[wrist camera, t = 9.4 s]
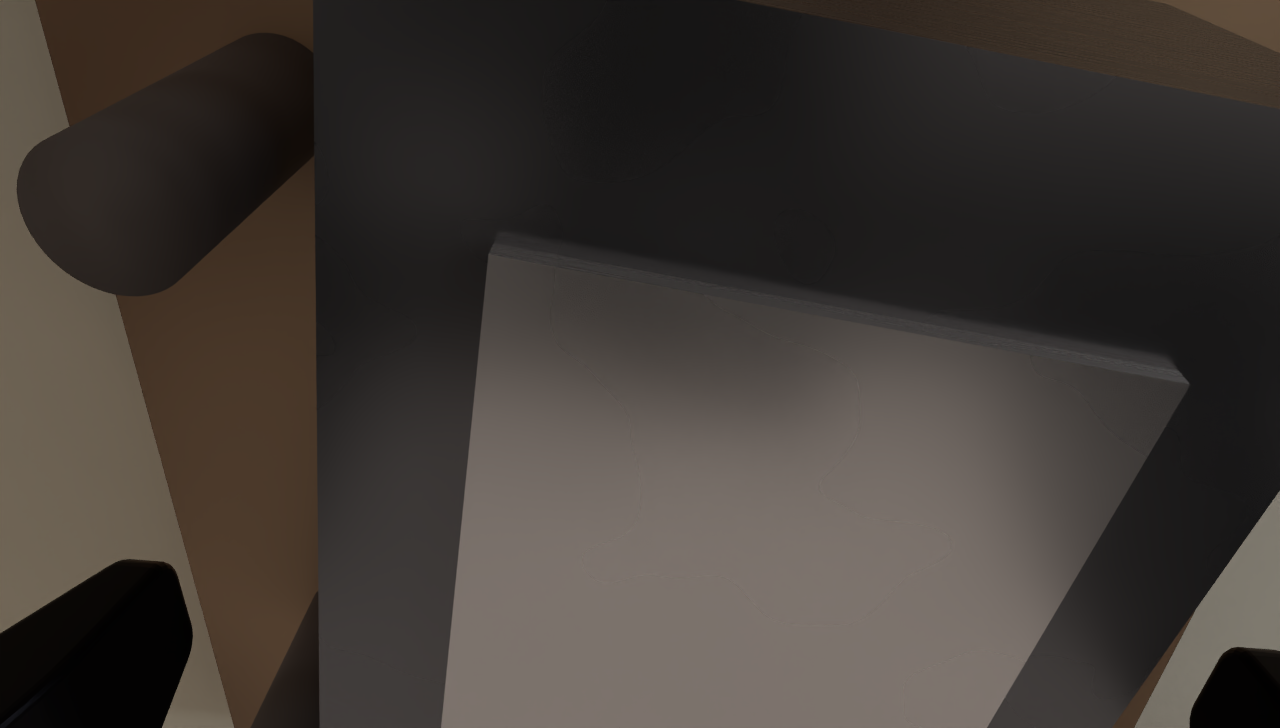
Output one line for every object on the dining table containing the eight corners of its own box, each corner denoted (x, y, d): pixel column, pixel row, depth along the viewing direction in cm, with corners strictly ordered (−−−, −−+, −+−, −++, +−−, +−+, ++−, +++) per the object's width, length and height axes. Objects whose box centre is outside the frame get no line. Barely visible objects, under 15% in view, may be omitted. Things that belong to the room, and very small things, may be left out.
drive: (1167, 4, 8) (1541, 167, 4) (836, 728, 13) (887, 1067, 10) (482, -137, 8) (301, -83, 4) (421, 659, 13) (317, 982, 9)
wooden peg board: (1549, -265, 8) (2228, -317, 4) (1058, 772, 15) (1164, 1058, 12) (13, -362, 8) (-503, -479, 5) (269, 707, 15) (145, 967, 12)
